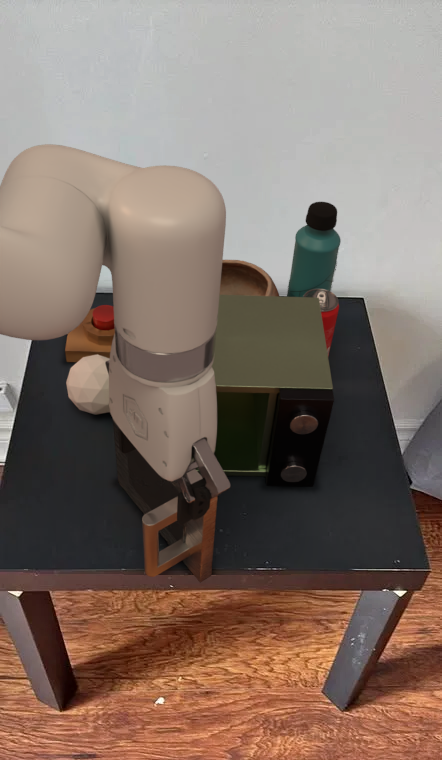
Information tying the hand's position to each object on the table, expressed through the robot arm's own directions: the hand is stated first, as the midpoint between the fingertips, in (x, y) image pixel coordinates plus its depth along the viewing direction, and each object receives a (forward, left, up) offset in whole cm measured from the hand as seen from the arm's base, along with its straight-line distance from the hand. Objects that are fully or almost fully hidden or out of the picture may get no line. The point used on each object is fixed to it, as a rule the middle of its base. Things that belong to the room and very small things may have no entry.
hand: (163, 479), depth 69 cm
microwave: (+17, +17, -20) cm, 31 cm away
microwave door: (+1, +7, -20) cm, 21 cm away
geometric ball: (+6, +29, -20) cm, 36 cm away
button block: (+13, +40, -20) cm, 47 cm away
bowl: (+29, +33, -20) cm, 48 cm away
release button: (+13, +40, -16) cm, 45 cm away
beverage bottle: (+41, +29, -20) cm, 54 cm away
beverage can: (+36, +22, -20) cm, 47 cm away
